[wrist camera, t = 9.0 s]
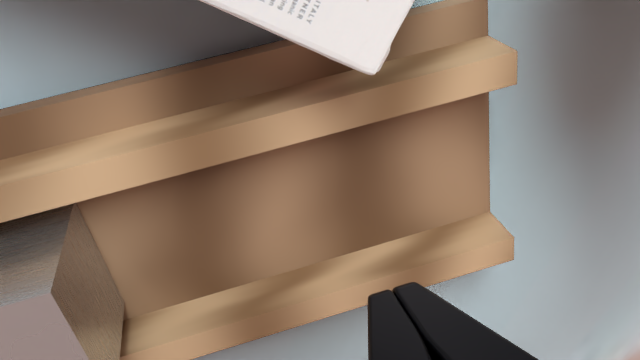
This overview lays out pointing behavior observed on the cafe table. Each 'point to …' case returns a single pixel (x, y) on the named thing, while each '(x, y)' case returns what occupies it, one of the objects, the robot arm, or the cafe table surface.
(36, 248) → the grey pink cube
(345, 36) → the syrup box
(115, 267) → the brown shallow tray
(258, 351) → the cafe table surface
